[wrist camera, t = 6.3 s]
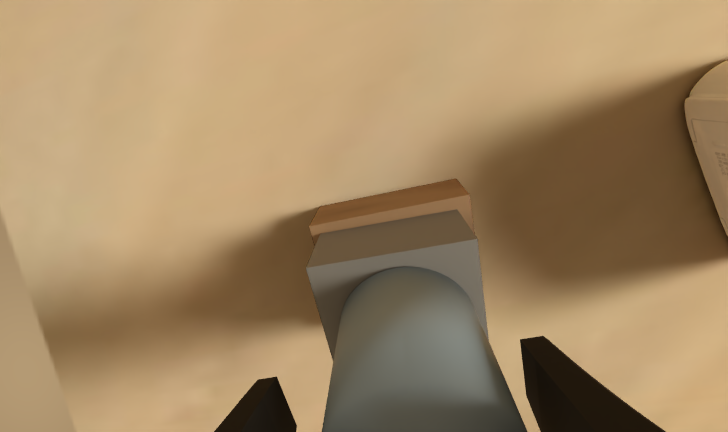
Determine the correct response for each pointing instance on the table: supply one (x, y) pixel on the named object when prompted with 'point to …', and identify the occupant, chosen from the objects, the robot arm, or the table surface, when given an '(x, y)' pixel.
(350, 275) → the block
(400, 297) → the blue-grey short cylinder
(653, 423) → the robot arm
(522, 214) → the table surface
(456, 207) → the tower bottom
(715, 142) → the cream book
